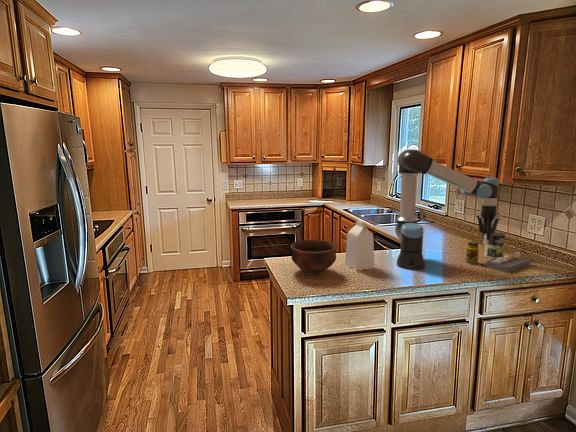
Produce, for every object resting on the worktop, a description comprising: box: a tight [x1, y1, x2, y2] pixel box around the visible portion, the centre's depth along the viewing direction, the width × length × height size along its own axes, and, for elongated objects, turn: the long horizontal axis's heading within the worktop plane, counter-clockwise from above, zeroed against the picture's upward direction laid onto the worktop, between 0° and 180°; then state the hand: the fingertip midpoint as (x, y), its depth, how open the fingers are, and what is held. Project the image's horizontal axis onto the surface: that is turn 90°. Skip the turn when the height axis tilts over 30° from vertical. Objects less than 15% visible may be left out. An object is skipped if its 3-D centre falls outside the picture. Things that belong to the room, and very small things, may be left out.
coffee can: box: [483, 231, 506, 259], centre depth 226 cm, size 10×10×14 cm
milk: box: [344, 219, 375, 271], centre depth 208 cm, size 12×12×26 cm
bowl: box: [290, 239, 338, 275], centre depth 201 cm, size 25×25×15 cm
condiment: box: [461, 241, 481, 266], centre depth 214 cm, size 7×8×12 cm
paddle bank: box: [497, 251, 521, 264], centre depth 208 cm, size 21×1×3 cm, turn 122°
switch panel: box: [484, 254, 532, 274], centre depth 208 cm, size 24×12×3 cm, turn 122°
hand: (485, 244), depth 218 cm, fingers closed
